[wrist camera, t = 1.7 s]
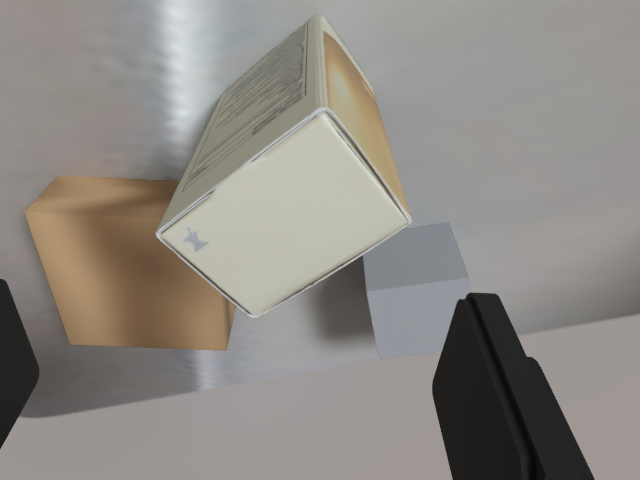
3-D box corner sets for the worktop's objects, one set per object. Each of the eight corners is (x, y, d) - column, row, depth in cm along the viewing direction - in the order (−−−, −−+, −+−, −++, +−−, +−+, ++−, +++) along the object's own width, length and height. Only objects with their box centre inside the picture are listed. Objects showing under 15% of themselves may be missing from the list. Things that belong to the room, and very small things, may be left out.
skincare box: (277, 159, 26) (246, 329, 16) (218, 93, 24) (141, 241, 14) (380, 84, 24) (421, 228, 14) (324, 4, 22) (324, 104, 12)
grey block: (448, 221, 28) (469, 277, 24) (452, 287, 31) (471, 348, 27) (360, 234, 29) (366, 291, 25) (372, 298, 32) (378, 359, 27)
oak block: (228, 180, 27) (214, 220, 24) (236, 303, 32) (226, 350, 29) (60, 172, 27) (24, 212, 24) (96, 297, 32) (70, 344, 29)
